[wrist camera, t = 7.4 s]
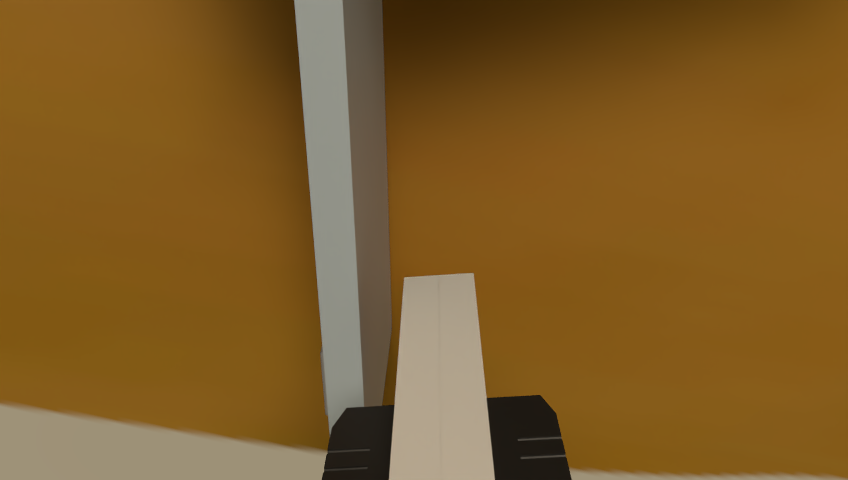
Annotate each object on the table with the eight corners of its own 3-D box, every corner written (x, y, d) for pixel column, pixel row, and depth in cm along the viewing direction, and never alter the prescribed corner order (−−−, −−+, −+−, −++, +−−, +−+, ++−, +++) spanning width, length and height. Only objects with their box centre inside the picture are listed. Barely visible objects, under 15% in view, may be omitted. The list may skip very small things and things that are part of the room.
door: (322, -123, 18) (244, -133, 11) (382, -124, 18) (342, -134, 11) (349, 327, 24) (310, 504, 17) (395, 327, 24) (373, 505, 17)
